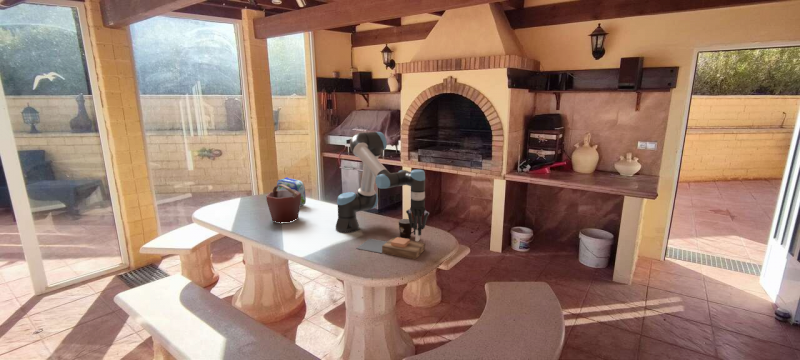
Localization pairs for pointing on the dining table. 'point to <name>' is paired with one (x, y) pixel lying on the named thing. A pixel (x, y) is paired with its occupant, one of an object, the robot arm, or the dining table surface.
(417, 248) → the block
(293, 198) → the bucket
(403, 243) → the tile
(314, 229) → the dining table surface
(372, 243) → the mat
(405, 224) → the coffee mug
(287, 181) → the lunch box
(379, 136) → the robot arm
